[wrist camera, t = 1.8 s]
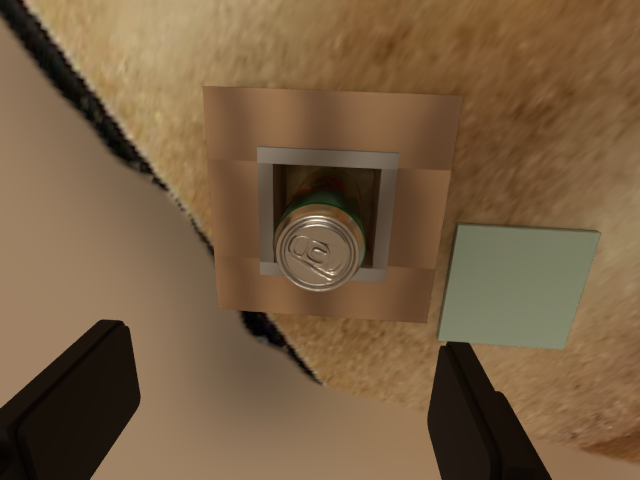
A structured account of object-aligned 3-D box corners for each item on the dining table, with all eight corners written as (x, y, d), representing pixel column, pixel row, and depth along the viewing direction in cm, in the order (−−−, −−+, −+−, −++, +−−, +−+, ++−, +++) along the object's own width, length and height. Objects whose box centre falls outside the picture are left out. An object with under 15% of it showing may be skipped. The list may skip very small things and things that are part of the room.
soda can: (342, 237, 31) (339, 313, 20) (288, 211, 31) (254, 274, 20) (370, 183, 29) (385, 234, 18) (313, 156, 29) (291, 190, 18)
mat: (596, 230, 29) (601, 233, 29) (559, 345, 33) (563, 349, 33) (456, 222, 30) (458, 225, 30) (436, 336, 34) (438, 340, 33)
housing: (443, 96, 27) (466, 95, 22) (415, 291, 33) (428, 327, 27) (226, 88, 28) (198, 85, 22) (236, 279, 33) (215, 313, 28)
